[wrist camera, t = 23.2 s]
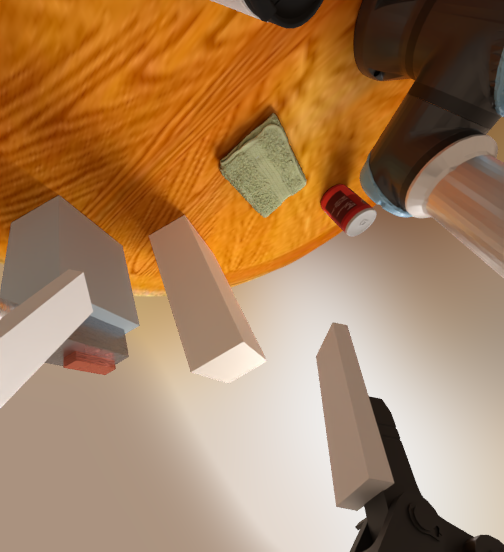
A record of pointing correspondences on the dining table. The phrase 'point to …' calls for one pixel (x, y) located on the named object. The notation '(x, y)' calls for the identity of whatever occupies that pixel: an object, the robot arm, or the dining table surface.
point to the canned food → (347, 210)
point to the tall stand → (204, 305)
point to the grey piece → (86, 345)
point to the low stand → (68, 261)
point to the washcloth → (264, 167)
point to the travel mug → (276, 10)
